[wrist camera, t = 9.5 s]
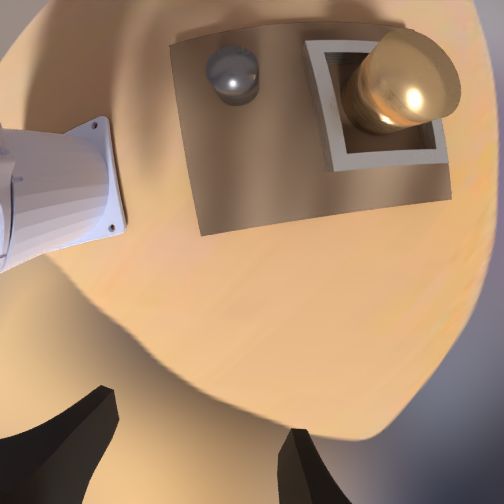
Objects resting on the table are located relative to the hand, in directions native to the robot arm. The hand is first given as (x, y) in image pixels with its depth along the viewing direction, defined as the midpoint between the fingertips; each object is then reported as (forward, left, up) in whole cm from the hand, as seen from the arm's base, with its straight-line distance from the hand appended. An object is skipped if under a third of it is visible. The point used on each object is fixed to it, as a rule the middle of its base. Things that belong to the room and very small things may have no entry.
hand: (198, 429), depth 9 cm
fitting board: (+8, +12, -9) cm, 17 cm away
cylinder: (+11, +12, -8) cm, 18 cm away
